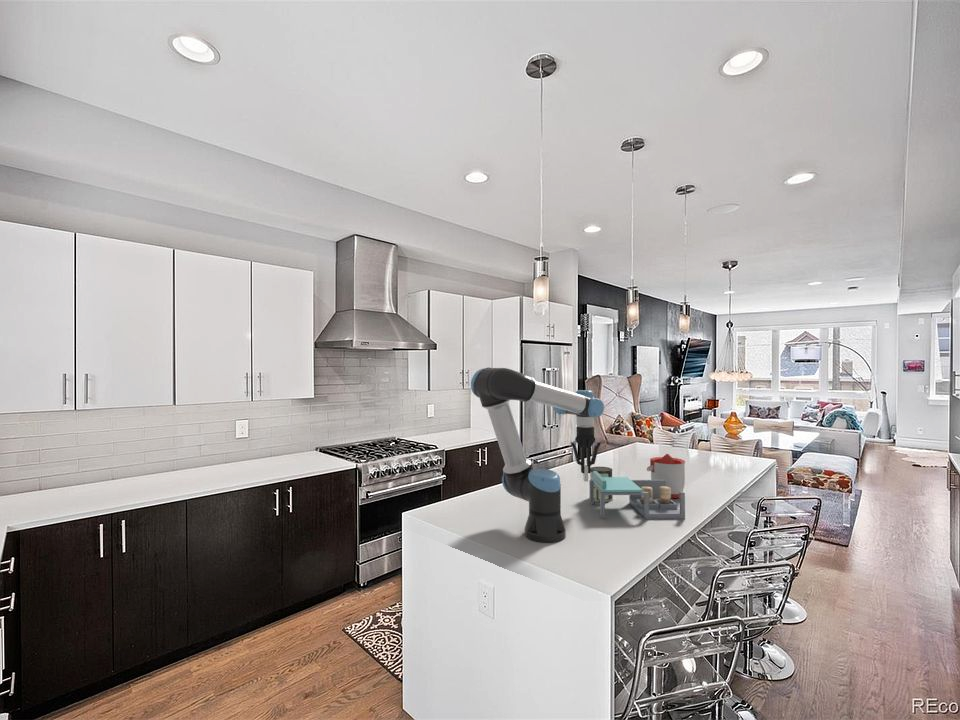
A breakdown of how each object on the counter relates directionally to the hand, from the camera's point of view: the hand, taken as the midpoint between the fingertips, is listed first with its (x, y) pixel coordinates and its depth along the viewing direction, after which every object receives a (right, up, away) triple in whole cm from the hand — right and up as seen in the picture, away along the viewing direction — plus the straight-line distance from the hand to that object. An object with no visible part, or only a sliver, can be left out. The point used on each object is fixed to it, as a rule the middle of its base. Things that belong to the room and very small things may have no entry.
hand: (585, 480), depth 203 cm
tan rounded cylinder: (+26, -11, -2) cm, 28 cm away
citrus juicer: (+43, -13, +22) cm, 50 cm away
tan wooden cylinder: (+34, -11, -2) cm, 35 cm away
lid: (+13, -2, 0) cm, 13 cm away
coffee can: (+11, -13, +18) cm, 25 cm away
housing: (+21, -13, -1) cm, 25 cm away
